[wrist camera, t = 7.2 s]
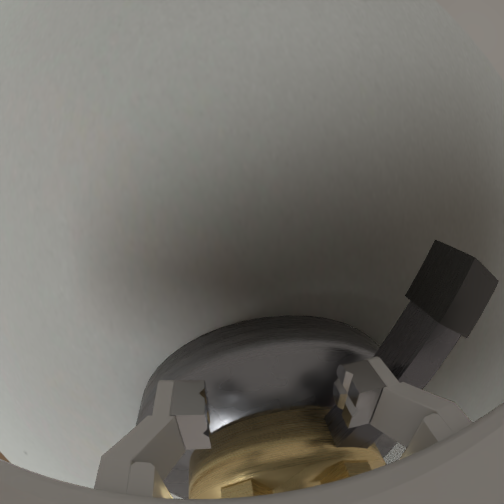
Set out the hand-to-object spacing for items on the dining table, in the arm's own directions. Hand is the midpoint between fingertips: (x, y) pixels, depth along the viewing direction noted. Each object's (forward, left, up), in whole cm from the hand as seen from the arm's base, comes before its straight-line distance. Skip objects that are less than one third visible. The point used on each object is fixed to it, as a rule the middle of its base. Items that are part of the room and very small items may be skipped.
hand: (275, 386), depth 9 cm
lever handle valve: (-5, +1, -1) cm, 5 cm away
